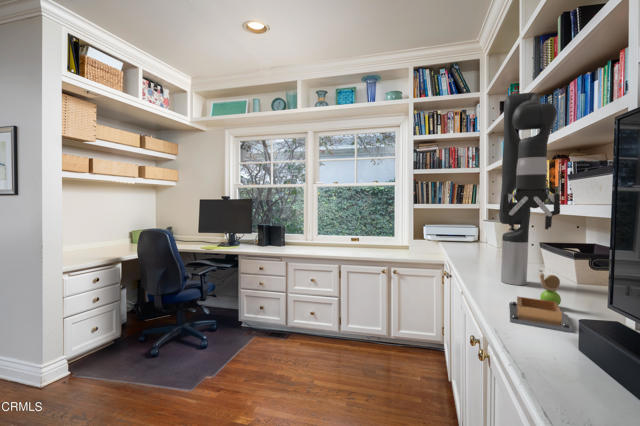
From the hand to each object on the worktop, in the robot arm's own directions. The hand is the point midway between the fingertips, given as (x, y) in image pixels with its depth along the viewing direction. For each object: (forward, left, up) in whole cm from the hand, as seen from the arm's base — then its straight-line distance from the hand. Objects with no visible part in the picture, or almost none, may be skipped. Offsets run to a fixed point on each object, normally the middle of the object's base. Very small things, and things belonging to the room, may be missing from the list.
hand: (529, 228), depth 96 cm
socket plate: (+2, +3, -26) cm, 26 cm away
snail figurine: (-11, +7, -26) cm, 29 cm away
